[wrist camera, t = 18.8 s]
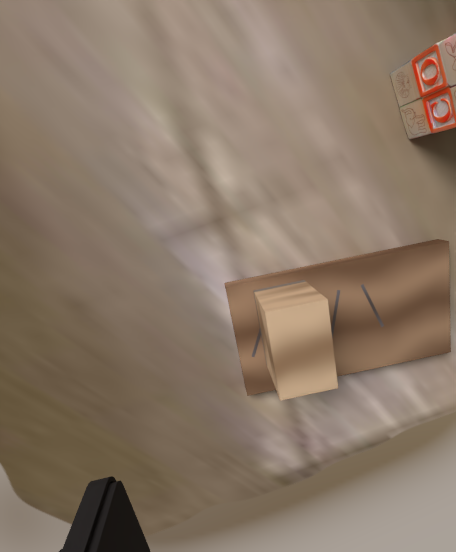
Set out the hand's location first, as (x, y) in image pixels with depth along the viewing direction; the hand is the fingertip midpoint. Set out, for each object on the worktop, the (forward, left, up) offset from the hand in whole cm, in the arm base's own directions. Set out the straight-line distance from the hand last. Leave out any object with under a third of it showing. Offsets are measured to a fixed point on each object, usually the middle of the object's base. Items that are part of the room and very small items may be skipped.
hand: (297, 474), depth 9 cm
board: (+7, +10, -24) cm, 27 cm away
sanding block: (+6, +4, -22) cm, 23 cm away
